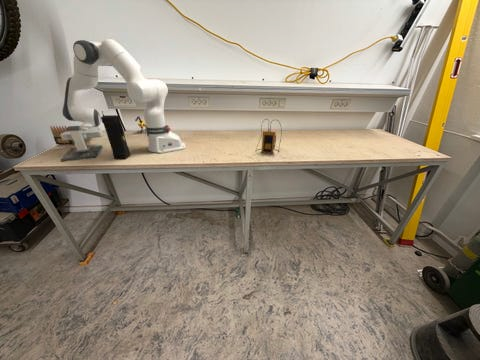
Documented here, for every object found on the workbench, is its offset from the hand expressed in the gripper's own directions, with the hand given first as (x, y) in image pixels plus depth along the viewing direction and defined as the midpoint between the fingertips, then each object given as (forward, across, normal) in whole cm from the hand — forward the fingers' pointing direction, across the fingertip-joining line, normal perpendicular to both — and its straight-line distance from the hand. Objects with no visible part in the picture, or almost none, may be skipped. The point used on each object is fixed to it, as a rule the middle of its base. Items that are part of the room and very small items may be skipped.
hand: (79, 138), depth 111 cm
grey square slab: (+2, 0, +9) cm, 9 cm away
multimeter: (+33, +105, +10) cm, 110 cm away
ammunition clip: (-23, -16, +9) cm, 30 cm away
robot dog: (-35, +32, +9) cm, 48 cm away
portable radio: (+15, +22, +9) cm, 28 cm away
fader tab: (+1, 0, +7) cm, 7 cm away
